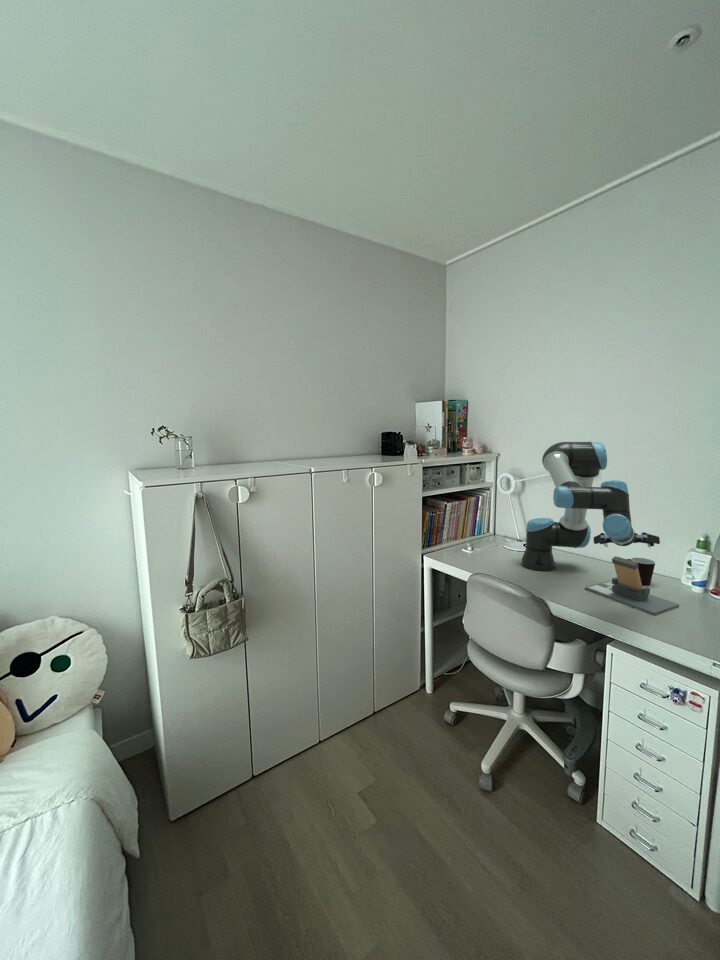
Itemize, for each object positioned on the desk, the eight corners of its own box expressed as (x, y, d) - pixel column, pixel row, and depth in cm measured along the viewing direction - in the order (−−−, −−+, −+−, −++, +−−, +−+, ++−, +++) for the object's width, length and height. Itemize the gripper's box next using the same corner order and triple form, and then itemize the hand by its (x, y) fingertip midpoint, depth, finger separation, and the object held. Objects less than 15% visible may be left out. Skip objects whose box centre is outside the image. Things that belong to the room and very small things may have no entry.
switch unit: (584, 589, 161) (585, 575, 160) (608, 582, 168) (609, 569, 167) (654, 615, 138) (655, 599, 137) (679, 606, 144) (680, 591, 144)
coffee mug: (657, 587, 162) (659, 564, 161) (634, 586, 164) (636, 563, 163) (643, 577, 173) (645, 555, 172) (622, 576, 175) (623, 554, 174)
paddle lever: (617, 584, 156) (610, 558, 152) (620, 581, 157) (614, 555, 153) (641, 592, 148) (635, 565, 144) (644, 589, 149) (638, 562, 145)
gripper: (580, 544, 140) (590, 552, 156) (668, 544, 125) (669, 554, 140) (579, 524, 142) (589, 534, 158) (665, 521, 127) (667, 533, 142)
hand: (627, 543), depth 149 cm, fingers open, 13 cm apart
